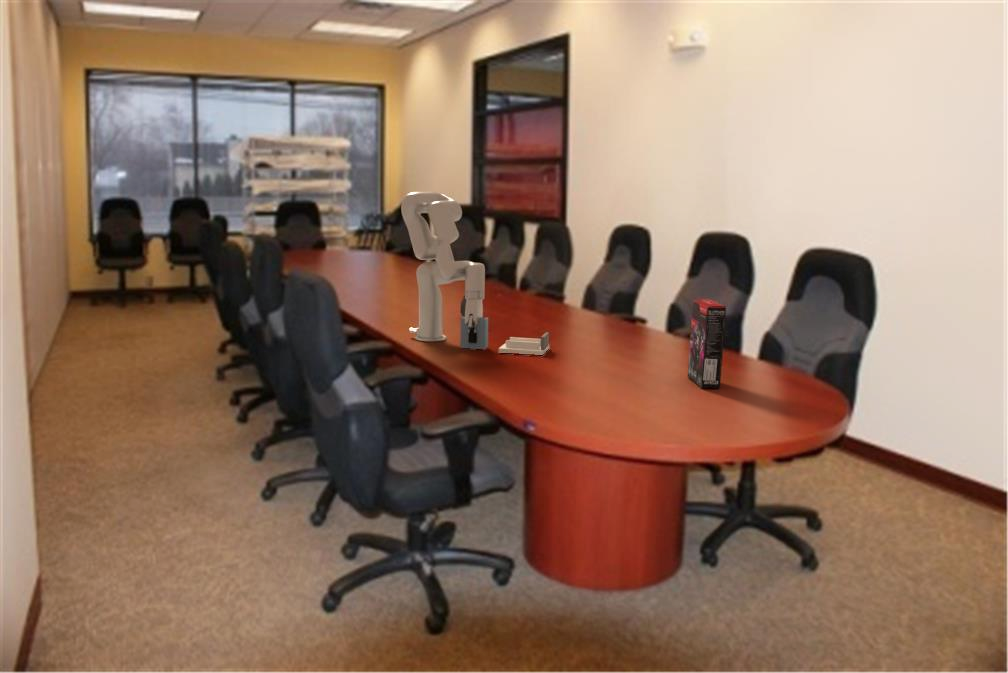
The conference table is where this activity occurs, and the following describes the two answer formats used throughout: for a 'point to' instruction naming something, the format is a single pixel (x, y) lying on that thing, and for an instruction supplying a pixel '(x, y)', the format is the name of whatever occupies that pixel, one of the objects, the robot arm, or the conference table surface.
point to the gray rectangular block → (481, 334)
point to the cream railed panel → (526, 345)
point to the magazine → (463, 306)
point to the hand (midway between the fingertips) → (474, 341)
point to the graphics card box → (706, 343)
